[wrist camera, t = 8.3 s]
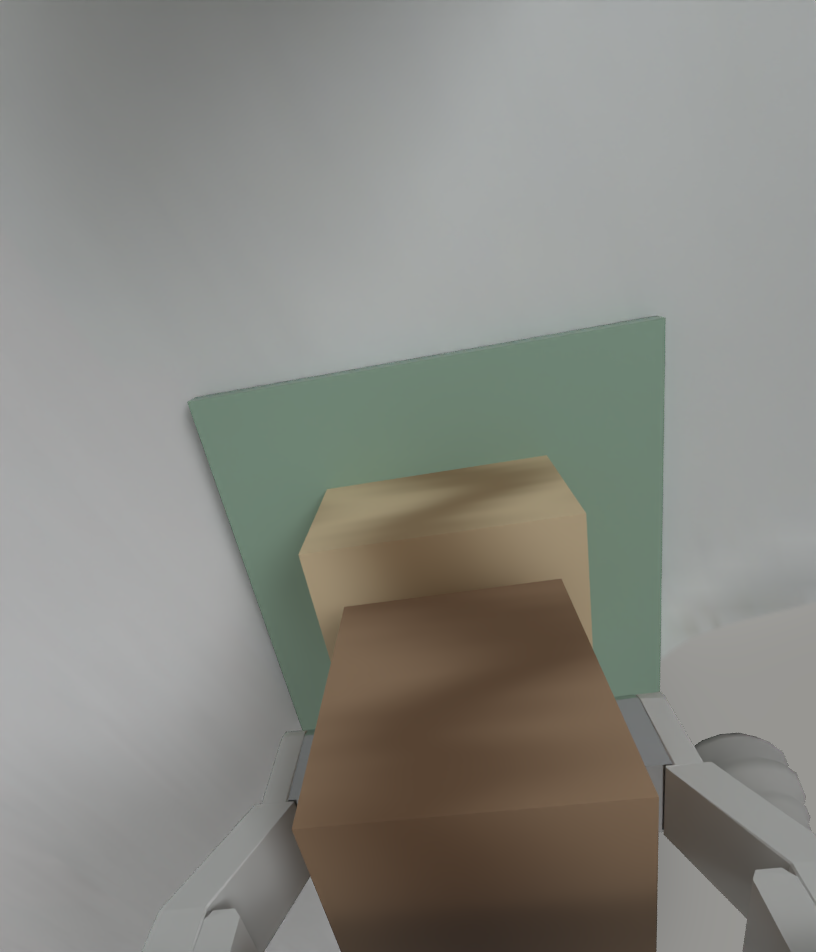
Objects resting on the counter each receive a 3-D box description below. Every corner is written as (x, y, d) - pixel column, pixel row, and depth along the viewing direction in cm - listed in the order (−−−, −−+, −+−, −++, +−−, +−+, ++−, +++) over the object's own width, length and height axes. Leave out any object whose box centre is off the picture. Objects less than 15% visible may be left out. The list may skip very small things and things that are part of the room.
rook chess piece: (702, 814, 22) (842, 1084, 15) (650, 760, 21) (773, 1024, 14) (799, 770, 21) (1002, 1040, 14) (749, 710, 20) (943, 970, 12)
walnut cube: (561, 578, 11) (659, 797, 7) (573, 738, 13) (655, 996, 8) (344, 606, 12) (291, 829, 7) (385, 757, 13) (365, 1011, 9)
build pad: (656, 315, 14) (665, 317, 14) (652, 684, 19) (659, 696, 19) (195, 397, 16) (187, 402, 15) (307, 723, 21) (304, 735, 20)
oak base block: (546, 455, 15) (586, 513, 12) (560, 635, 18) (596, 729, 14) (326, 489, 16) (298, 554, 12) (371, 658, 19) (358, 754, 15)
